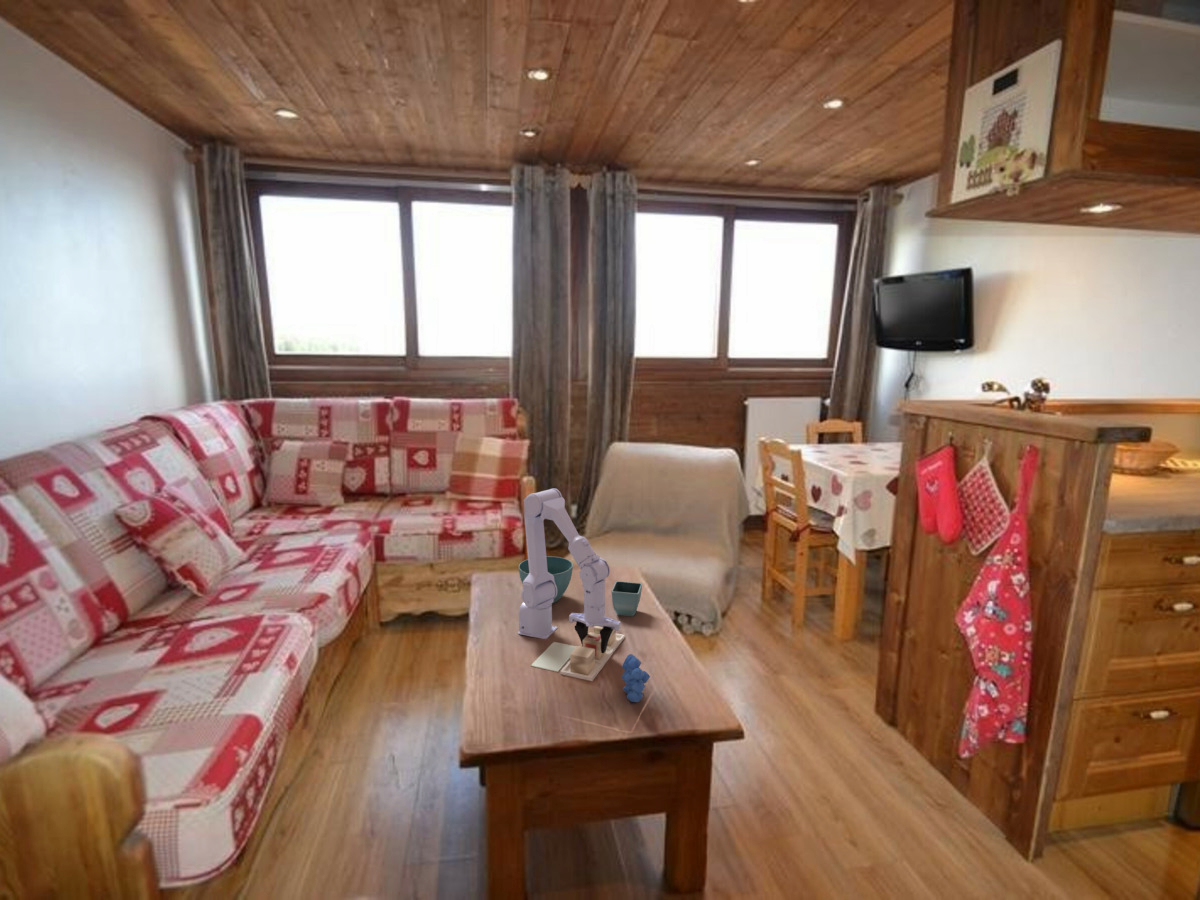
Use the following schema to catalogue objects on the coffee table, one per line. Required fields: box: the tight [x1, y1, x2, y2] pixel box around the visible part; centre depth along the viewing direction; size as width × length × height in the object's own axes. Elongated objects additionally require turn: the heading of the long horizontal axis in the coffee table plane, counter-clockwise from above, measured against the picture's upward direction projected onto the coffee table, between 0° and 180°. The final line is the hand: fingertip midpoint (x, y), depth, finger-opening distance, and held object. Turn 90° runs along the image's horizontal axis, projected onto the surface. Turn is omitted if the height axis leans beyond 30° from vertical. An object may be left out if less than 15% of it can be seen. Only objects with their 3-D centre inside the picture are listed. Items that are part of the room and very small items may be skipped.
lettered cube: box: [583, 631, 606, 661], centre depth 165 cm, size 5×5×5 cm
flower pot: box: [611, 580, 643, 617], centre depth 192 cm, size 9×9×9 cm
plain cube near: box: [569, 645, 595, 676], centre depth 158 cm, size 5×5×5 cm
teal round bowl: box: [518, 555, 574, 604], centre depth 202 cm, size 18×18×12 cm
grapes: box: [621, 653, 651, 703], centre depth 144 cm, size 12×7×12 cm, turn 14°
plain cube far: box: [593, 626, 617, 647], centre depth 173 cm, size 5×5×5 cm
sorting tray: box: [559, 632, 626, 682], centre depth 166 cm, size 9×25×1 cm, turn 158°
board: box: [530, 641, 578, 673], centre depth 165 cm, size 8×14×1 cm, turn 158°
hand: (594, 649), depth 166 cm, fingers closed on lettered cube, 5 cm apart
